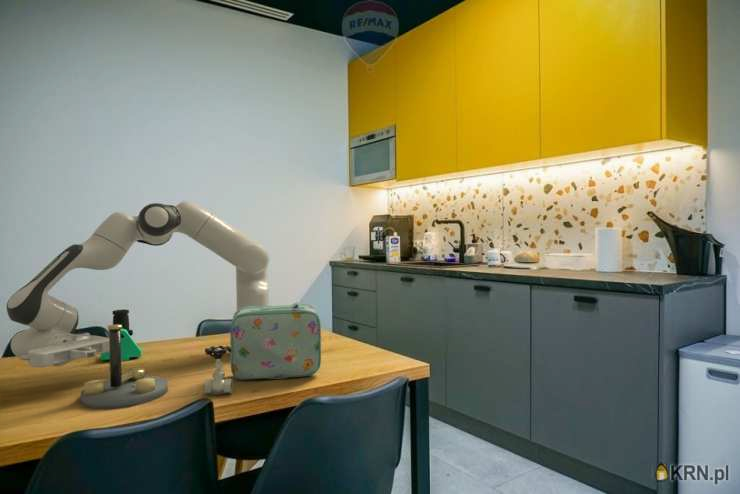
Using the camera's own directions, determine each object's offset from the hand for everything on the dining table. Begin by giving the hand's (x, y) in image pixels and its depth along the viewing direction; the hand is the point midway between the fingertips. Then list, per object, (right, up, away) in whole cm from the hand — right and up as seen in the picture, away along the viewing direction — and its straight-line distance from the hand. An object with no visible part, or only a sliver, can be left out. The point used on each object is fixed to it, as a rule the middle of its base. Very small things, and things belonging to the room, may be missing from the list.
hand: (90, 354), depth 125 cm
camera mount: (-11, -10, +36) cm, 38 cm away
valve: (+35, -10, -3) cm, 36 cm away
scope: (-19, -9, +50) cm, 55 cm away
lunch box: (+47, -10, +14) cm, 50 cm away
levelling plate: (+11, -10, -3) cm, 15 cm away
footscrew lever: (+9, -8, +1) cm, 12 cm away
